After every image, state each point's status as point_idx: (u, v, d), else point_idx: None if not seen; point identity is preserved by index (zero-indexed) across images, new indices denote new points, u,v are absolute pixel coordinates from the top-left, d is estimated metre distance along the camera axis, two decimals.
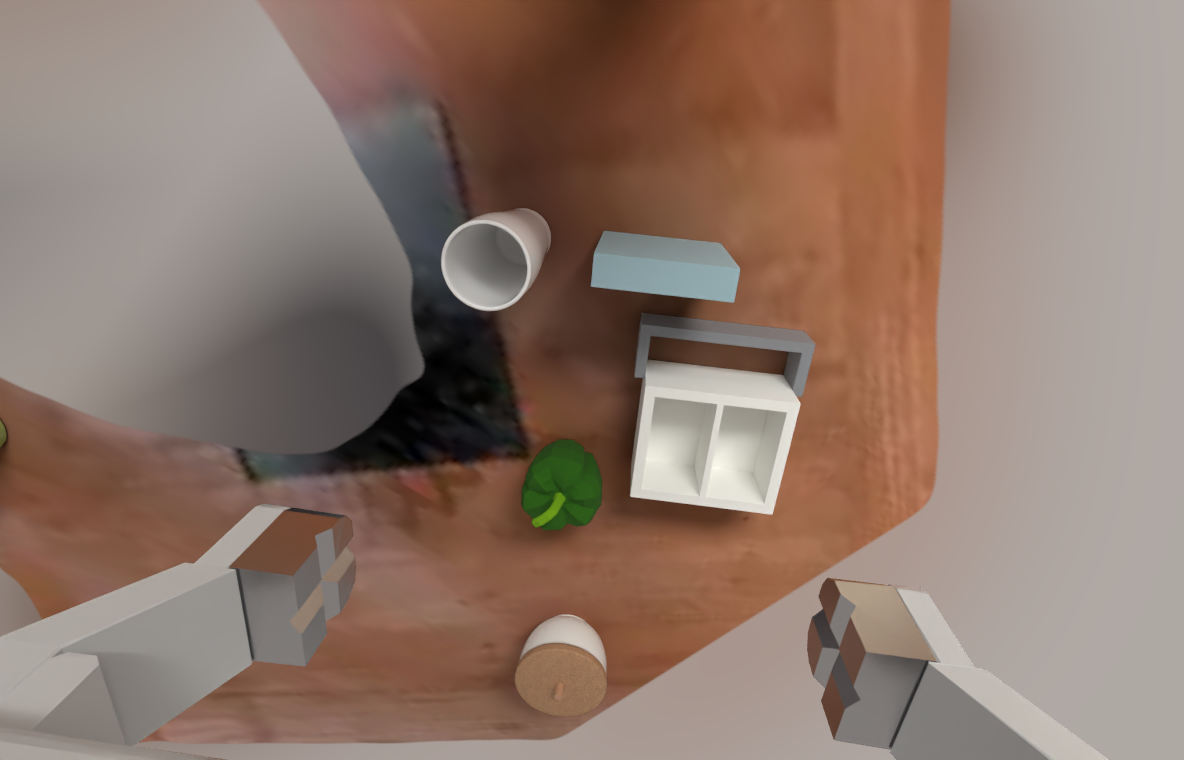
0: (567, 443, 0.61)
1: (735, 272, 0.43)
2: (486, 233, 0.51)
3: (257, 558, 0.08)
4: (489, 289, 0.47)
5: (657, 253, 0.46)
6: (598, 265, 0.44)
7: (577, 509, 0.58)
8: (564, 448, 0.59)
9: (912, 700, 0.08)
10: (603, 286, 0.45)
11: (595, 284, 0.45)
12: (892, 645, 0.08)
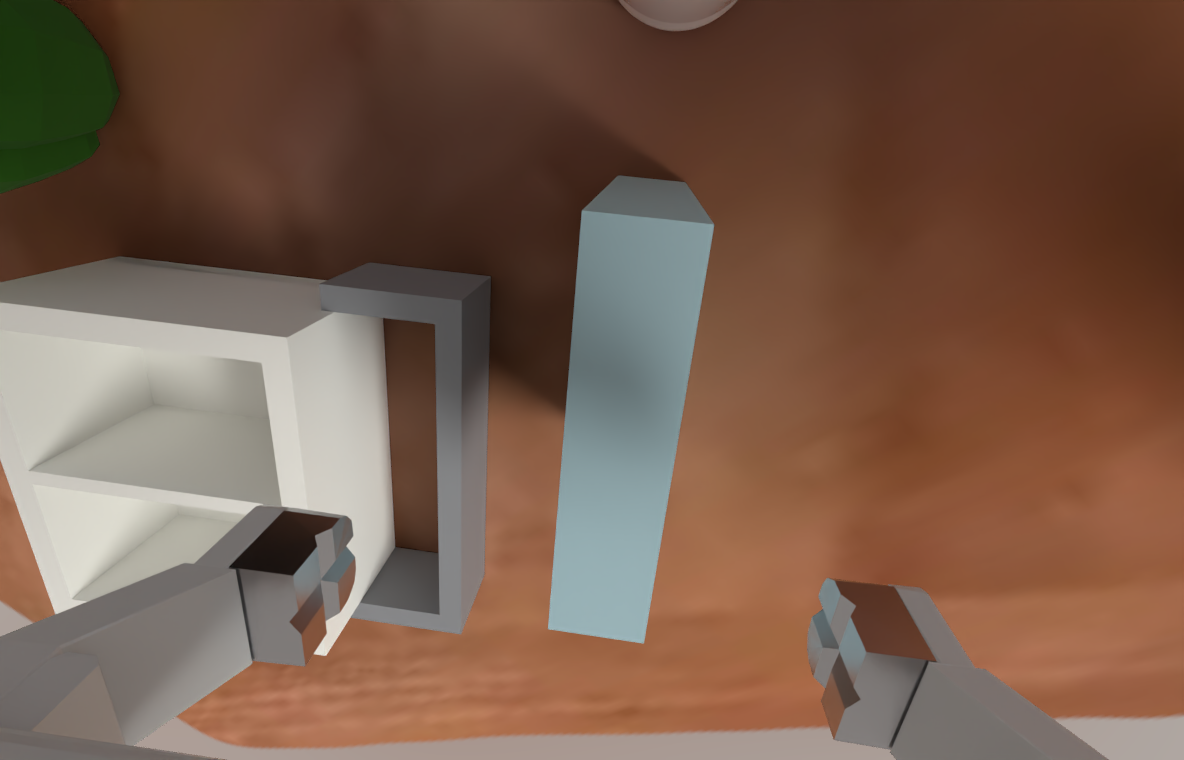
0: (82, 81, 0.20)
1: (632, 633, 0.15)
2: None
3: (257, 558, 0.08)
4: None
5: None
6: (665, 239, 0.11)
7: None
8: (44, 74, 0.19)
9: (912, 700, 0.08)
10: (584, 260, 0.12)
11: (591, 229, 0.12)
12: (892, 645, 0.08)
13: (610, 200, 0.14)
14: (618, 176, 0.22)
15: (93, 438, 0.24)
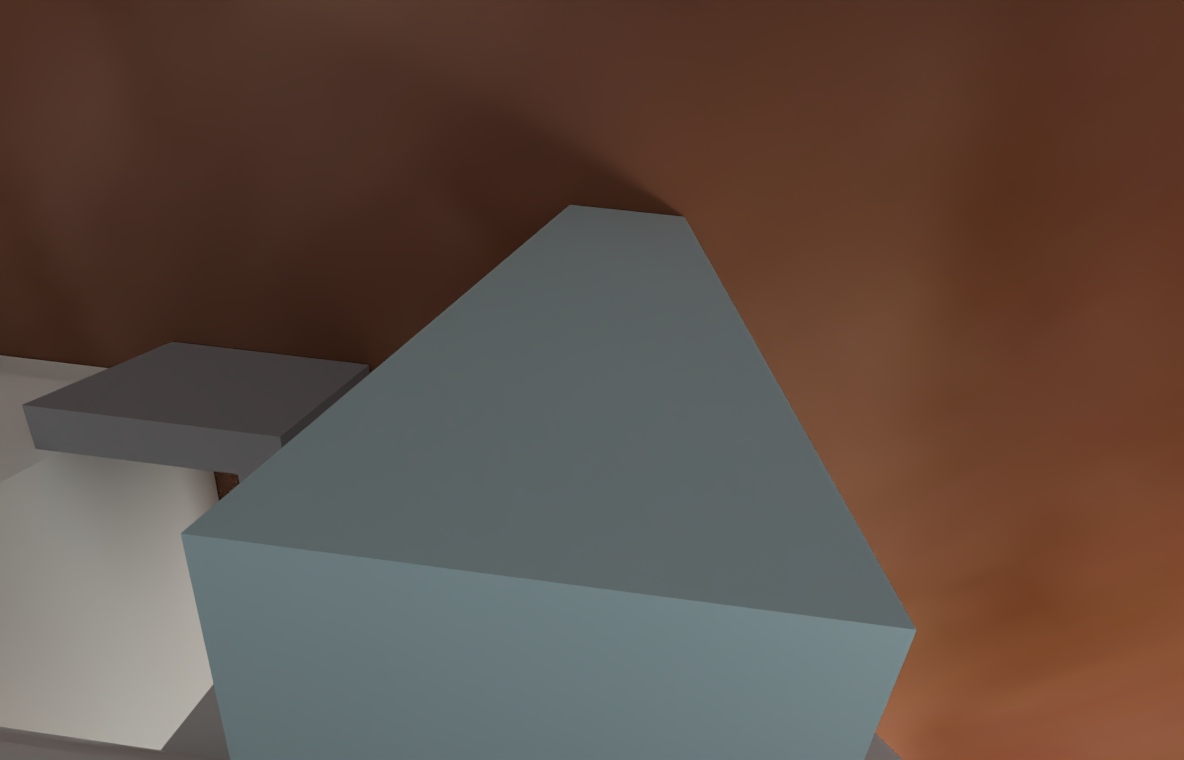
0: None
1: None
2: None
3: None
4: None
5: None
6: (642, 677, 0.02)
7: None
8: None
9: None
10: (250, 725, 0.02)
11: (250, 614, 0.02)
12: None
13: (470, 338, 0.04)
14: (568, 208, 0.12)
15: None
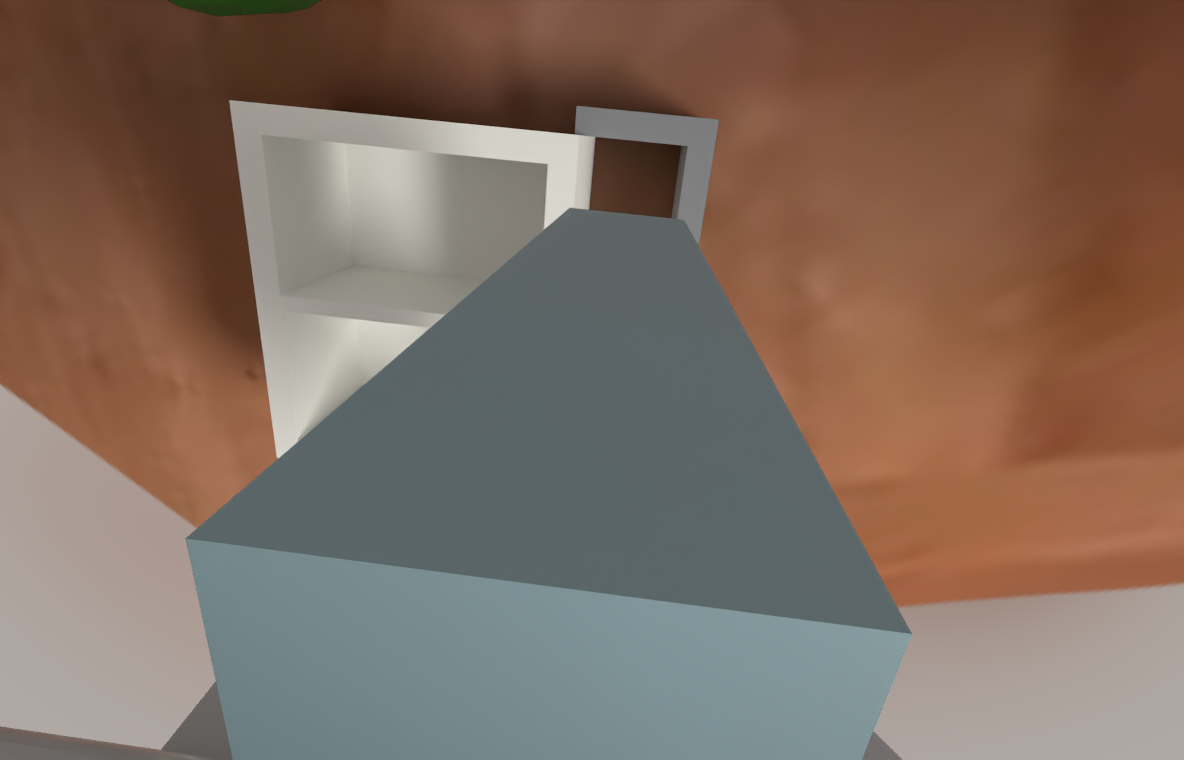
0: None
1: None
2: None
3: None
4: None
5: None
6: (639, 682, 0.02)
7: None
8: None
9: None
10: (253, 728, 0.02)
11: (253, 618, 0.02)
12: None
13: (471, 342, 0.04)
14: (568, 211, 0.13)
15: (319, 280, 0.25)
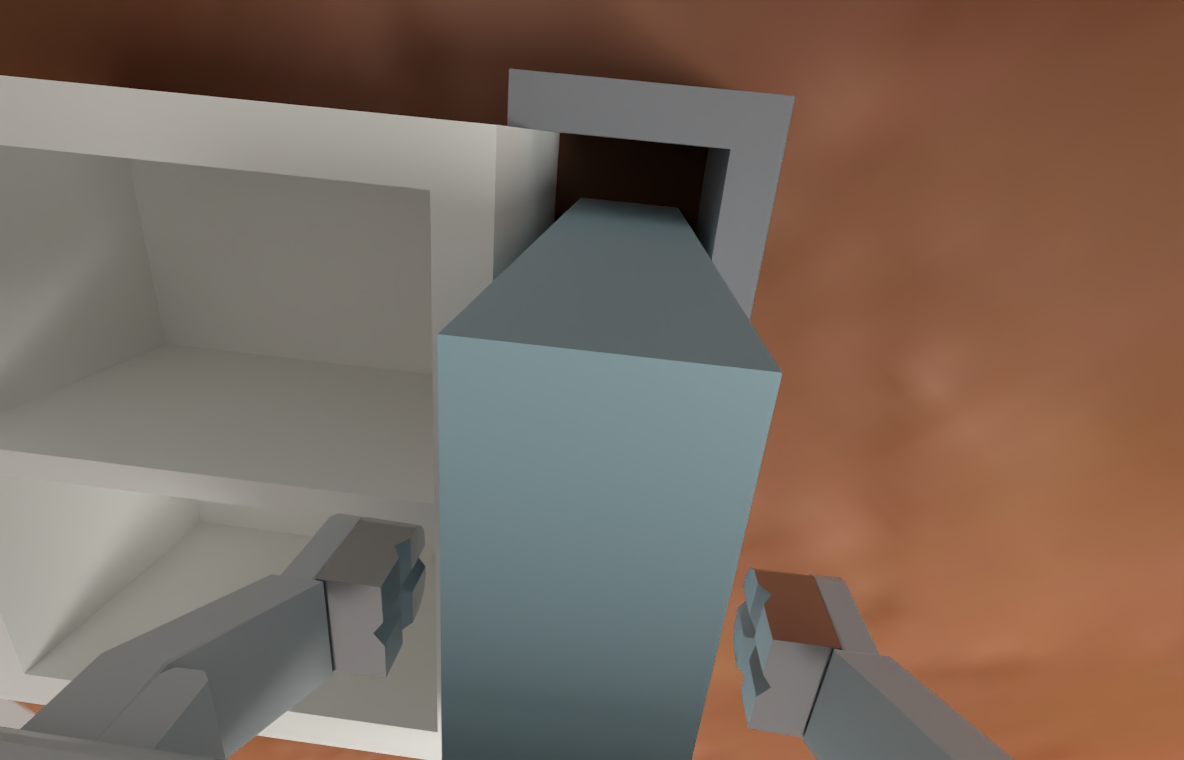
0: None
1: None
2: None
3: (342, 569, 0.08)
4: None
5: None
6: (656, 407, 0.04)
7: None
8: None
9: (821, 687, 0.08)
10: (453, 447, 0.05)
11: (464, 378, 0.05)
12: (800, 633, 0.08)
13: (538, 273, 0.07)
14: (580, 200, 0.15)
15: (64, 389, 0.14)
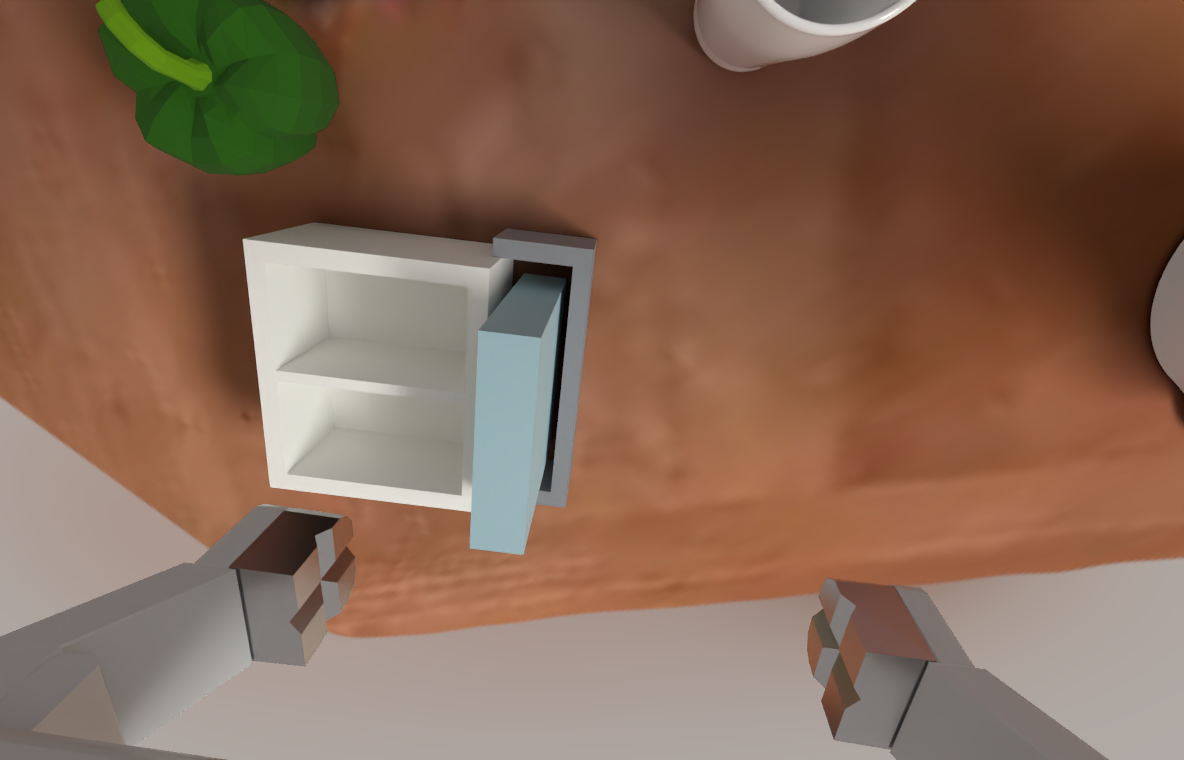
0: (331, 93, 0.29)
1: (516, 549, 0.28)
2: None
3: (257, 558, 0.08)
4: None
5: (540, 415, 0.28)
6: (518, 344, 0.24)
7: (181, 120, 0.26)
8: (322, 89, 0.28)
9: (912, 700, 0.08)
10: (480, 352, 0.24)
11: (483, 338, 0.24)
12: (892, 645, 0.08)
13: (499, 316, 0.26)
14: (523, 275, 0.34)
15: (304, 354, 0.33)
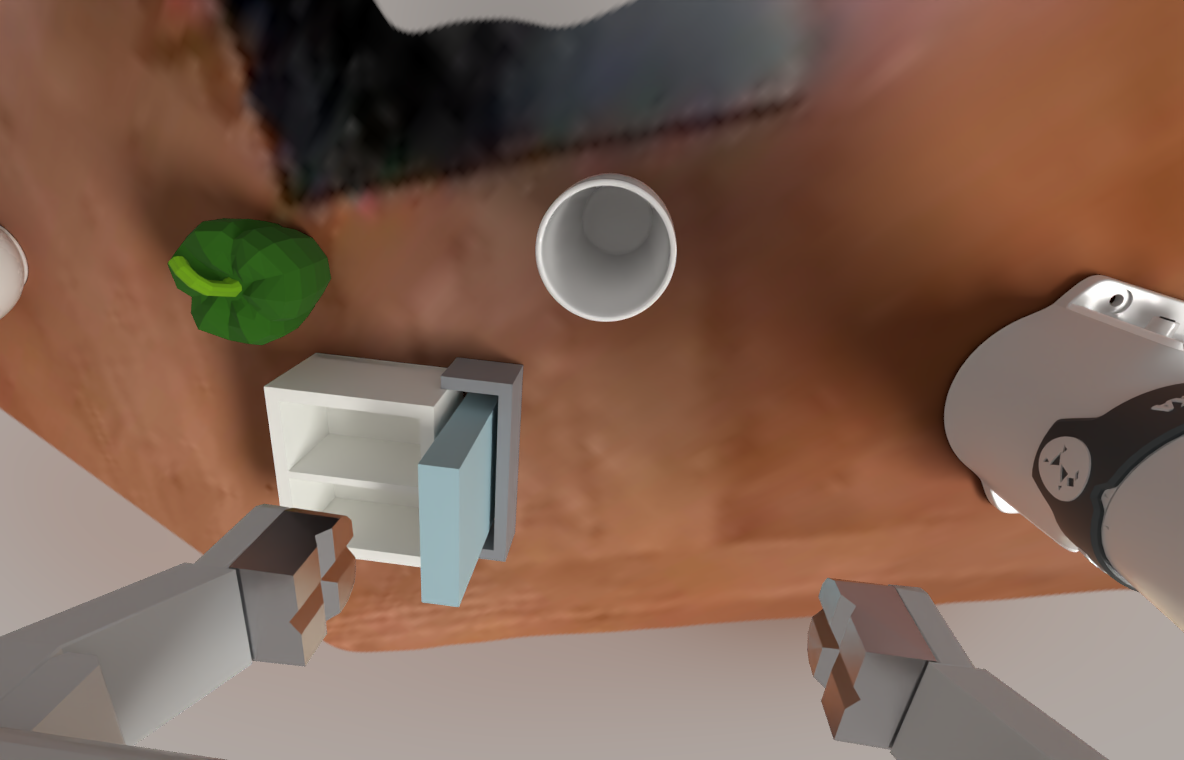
0: (324, 277, 0.41)
1: (454, 603, 0.40)
2: None
3: (257, 558, 0.08)
4: (559, 216, 0.31)
5: (470, 509, 0.40)
6: (445, 473, 0.36)
7: (221, 316, 0.38)
8: (316, 282, 0.40)
9: (912, 700, 0.08)
10: (420, 477, 0.36)
11: (421, 469, 0.36)
12: (892, 645, 0.08)
13: (436, 446, 0.38)
14: None
15: (309, 453, 0.45)
